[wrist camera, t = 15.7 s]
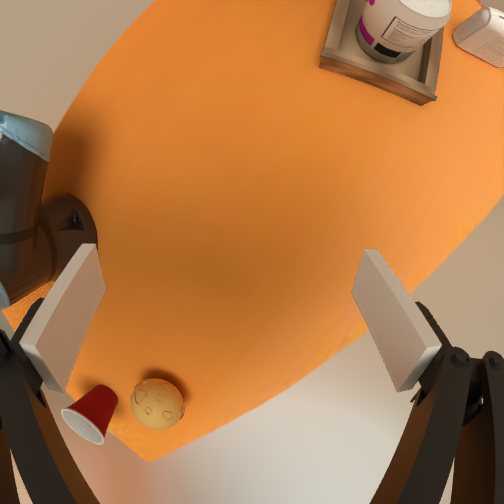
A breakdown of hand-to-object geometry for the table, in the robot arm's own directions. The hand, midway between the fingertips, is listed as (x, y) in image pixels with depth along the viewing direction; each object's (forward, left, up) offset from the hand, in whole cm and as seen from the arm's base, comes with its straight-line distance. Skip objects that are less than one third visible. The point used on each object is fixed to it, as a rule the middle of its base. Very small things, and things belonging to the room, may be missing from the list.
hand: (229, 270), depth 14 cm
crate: (+9, +27, -27) cm, 40 cm away
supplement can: (+9, +27, -26) cm, 39 cm away
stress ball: (-9, -39, -28) cm, 48 cm away
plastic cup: (-23, -50, -28) cm, 62 cm away
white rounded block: (+25, +35, -28) cm, 51 cm away
